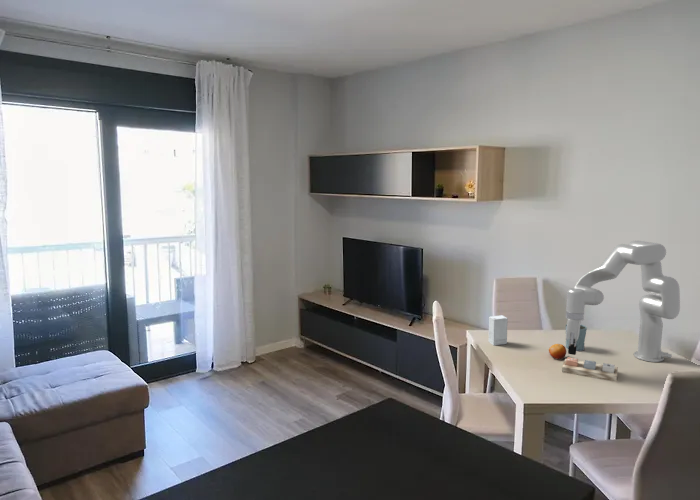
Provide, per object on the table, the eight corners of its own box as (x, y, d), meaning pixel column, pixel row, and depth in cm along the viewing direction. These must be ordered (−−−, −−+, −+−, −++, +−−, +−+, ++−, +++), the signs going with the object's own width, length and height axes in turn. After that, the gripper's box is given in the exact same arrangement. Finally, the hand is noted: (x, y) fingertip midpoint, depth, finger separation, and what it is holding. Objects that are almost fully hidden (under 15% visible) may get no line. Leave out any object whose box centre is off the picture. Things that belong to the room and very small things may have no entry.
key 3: (577, 363, 228) (578, 358, 227) (576, 367, 224) (577, 361, 223) (567, 362, 230) (567, 356, 230) (565, 365, 226) (566, 359, 226)
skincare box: (501, 341, 267) (502, 314, 265) (507, 344, 261) (508, 317, 259) (487, 342, 265) (488, 315, 263) (493, 345, 260) (494, 318, 258)
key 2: (595, 366, 224) (596, 361, 223) (595, 370, 220) (595, 364, 220) (584, 364, 226) (585, 359, 226) (583, 368, 222) (584, 362, 222)
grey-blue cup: (581, 345, 259) (582, 323, 258) (588, 352, 250) (590, 329, 248) (561, 344, 260) (562, 323, 259) (568, 351, 250) (569, 328, 249)
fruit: (571, 358, 237) (563, 344, 236) (556, 365, 238) (548, 351, 238) (568, 352, 244) (560, 339, 244) (553, 359, 246) (545, 346, 246)
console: (617, 372, 223) (617, 367, 223) (616, 381, 213) (616, 376, 212) (565, 363, 234) (565, 358, 234) (561, 371, 224) (562, 366, 223)
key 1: (614, 369, 220) (614, 364, 220) (613, 373, 216) (614, 367, 216) (602, 368, 222) (603, 362, 222) (602, 371, 218) (602, 365, 218)
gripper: (567, 310, 232) (565, 347, 234) (563, 318, 219) (561, 357, 222) (585, 313, 228) (582, 350, 230) (582, 320, 215) (579, 360, 218)
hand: (571, 353), depth 226 cm, fingers closed
